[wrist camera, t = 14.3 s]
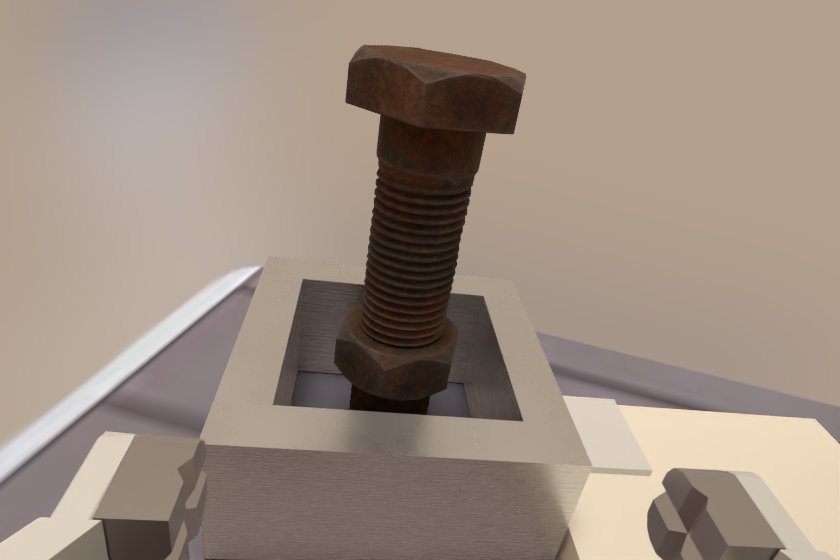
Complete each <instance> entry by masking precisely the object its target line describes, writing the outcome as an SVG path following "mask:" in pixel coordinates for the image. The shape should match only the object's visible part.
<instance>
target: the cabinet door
mask: <svg viewBox="0 0 840 560" xmlns="http://www.w3.org/2000/svg"><path fill="white" fill-rule="evenodd" d="M563 398H564V401H565V403H566V405H567V408H568V410H569V412H570V415H571V417H572V419H573V422H574V424H575V426H576V429H577V431H578V433H579V436H580V438H581V440H582V443H583V445H584V447H585V450H586V452H587V454H588V457H589V459H590V461H591V464H592V469H591V471H590V474H589V476H588V479H587V481H586V483H585V486H584V488H583V491H582V493H581V496H580V498H579V501H578V503H577V506H576V508H575V510H574V513H573V515H572V518H571V520H570V523H569V525H568V528H567V530H566V533H565V535H564V537H563V540H562V542H561V545H560V547H559V550H558V552H557V555H556V557H555V560H662V559H661V558H660V557H659V556H658V555H657V554H656V553H655V551H654V548H653V546H652V544H651V542H650V539H649V534H648V530H647V512H648V510H649V508H650V505H651V503H652V501H653V499H655V498H656V497H658V496H659V495H661V494H662V493H664V492H665V490H664V487H663V485H662V481H663V479H664V477H665V475H666V473H667V472H668V471H670V470H671V469H673V468H687V469H707V470H722V471H744V472H753V473H755V474H756V475H758V476H759V477H761V478H762V479H763V481H764V482H765V483H766V485H767V486H768V487H769V489H770V490H771V491H772V493H773V494H774V495H775V497H776V498H777V499H778V501H779V502H780V503H781V505H782V506H783V507H784V509H785V510H786V511H787V513H788V514H789V515H790V517H791V518H792V519H793V521H794V522H795V523H796V525H797V526H798V527H799V529H800V530H801V531H802V532H803V534H804V535H805V536H806V538H807V539H808V540H809V542H810V543H811V544H812V546H813V547H814V548H815V550H816V551H822V552H826V553H827V554H829V555H830V556H832V557H833V558H834V559H836V560H840V445H839V444H838V442H837V441H836V440H835V439H834V438H833V437H832V436H831V435H830V434H829V433H828V432H827V431H826V430H825V429H824V428H823V427H822V426H821V425H820V424H819V423H818V422H817V421H816V420H815V419H806V418H792V417H778V416H764V415H750V414H736V413H722V412H708V411H694V410H679V409H665V408H651V407H637V406H623V405H617V404H616V402H615V400H614V399H600V398H587V397H573V396H563Z"/></svg>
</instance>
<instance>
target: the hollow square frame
mask: <svg viewBox="0 0 840 560" xmlns="http://www.w3.org/2000/svg"><path fill="white" fill-rule="evenodd" d="M366 268H367V267H366V266H360V265H349V264H339V263H329V262H319V261H309V260H299V259H289V258H279V257H268V259H267V261H266V264H265V266H264V269H263V272H262V274H261V277H260V280H259V282H258V285H257V287H256V290H255V293H254V295H253V298H252V301H251V303H250V306H249V309H248V311H247V314H246V317H245V319H244V322H243V325H242V327H241V330H240V332H239V335H238V338H237V340H236V343H235V346H234V348H233V351H232V354H231V356H230V359H229V362H228V364H227V367H226V370H225V372H224V375H223V377H222V380H221V383H220V385H219V388H218V391H217V393H216V396H215V399H214V401H213V404H212V407H211V409H210V412H209V415H208V417H207V420H206V422H205V425H204V428H203V430H202V433H201V436H200V438H199V439H202V440H204V441H205V448H206V458H205V461H204V463H203V466H202V469H201V470H202V471H203V472H204V473H205V474H206V475H207V496H206V503H205V508H204V513H203V518H202V531H203V548H204V559H229V560H555V557H556V555H557V552H558V550H559V547H560V545H561V542H562V540H563V537H564V535H565V533H566V530H567V528H568V525H569V523H570V520H571V518H572V515H573V513H574V510H575V508H576V506H577V503H578V501H579V498H580V496H581V493H582V491H583V488H584V486H585V483H586V481H587V479H588V476H589V474H590V471H591V469H592V464H591V461H590V459H589V457H588V454H587V452H586V450H585V447H584V445H583V443H582V440H581V438H580V436H579V433H578V431H577V429H576V426H575V424H574V422H573V419H572V417H571V415H570V412H569V410H568V408H567V405H566V403H565V401H564V398H563V396H562V394H561V391H560V389H559V387H558V384H557V382H556V380H555V377H554V375H553V373H552V370H551V368H550V366H549V363H548V361H547V359H546V356H545V354H544V352H543V349H542V347H541V345H540V342H539V340H538V338H537V335H536V333H535V331H534V329H533V326H532V324H531V322H530V319H529V317H528V314H527V312H526V310H525V307H524V305H523V303H522V300H521V298H520V296H519V293H518V291H517V289H516V287H515V284H514V282H513V281H512V280H502V279H492V278H482V277H472V276H461V275H454V277H453V279H454V282H453V284H452V290H451V292H450V299H449V307H448V309H447V317H448V318H449V319H450V321H451V322H452V323H453V324H454V325H455V326H456V327H457V328H458V330H459V332H458V337H457V342H456V346H455V351H454V356H453V360H452V365H451V369H450V374H449V378H448V382H457V383H463V384H464V389H465V394H466V399H467V403H468V408H469V413H470V418H462V417H447V416H431V415H416V414H401V413H386V412H371V411H355V410H340V409H325V408H310V407H295V406H291V403H292V398H293V393H294V388H295V383H296V378H297V373H298V371H308V372H321V373H335V374H342V372H341V371H340V370H339V369H338V367H337V366H336V365H335V364H334V356H335V345H336V338H337V335H338V333H339V330H340V328H341V325H342V323H343V321H344V319H345V317H346V315H347V313H348V312H349V311H350V310H351V309H352V308H353V307H355V306H357V305H359V304H361V303H362V300H363V298H362V295H363V292H364V290H363V288H364V284H365V283H364V280H365V277H366V275H365V272H366Z"/></svg>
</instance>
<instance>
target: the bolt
mask: <svg viewBox="0 0 840 560" xmlns="http://www.w3.org/2000/svg"><path fill="white" fill-rule="evenodd" d="M525 79H526V74H525V73H523V72H520V71H518V70H516V69H514V68H511V67H508V66H504V65H501V64H498V63H495V62H492V61H487V60H482V59H477V58H472V57H466V56H461V55H456V54H450V53H444V52H437V51H431V50H425V49H420V48H412V47H399V46H386V45H384V46H383V45H363V46H361V47H360V48H359V49H358V50H357V51H356V53H355V54H354V56H353V57H352V59H351V61H350V63H349V69H348V80H347V90H346V103H348V104H351V105H354V106H357V107H360V108H363V109H366V110H369V111H372V112H375V113H378V114H381V116H380V126H379V136H378V145H377V157H378V159H379V162H378V164H379V169H378V171H377V176H378V177H379V178H378V179H377V180H376V186H377V188H376V189H375V193H374V194H375V195H376V197H375V198H374V208H373V210H372V213H373V217H372V219H371V221H372V225H371V228H370V232H371V235H370V237H369V241H370V243H369V245H368V251H369V252H368V254H367V258H368V260H367V263H366V267H367V268H366V272H365V275H366V277H365V280H364V283H365V284H364V288H363V290H364V292H363V295H362V298H363V300H362V303H361V304H359V305H357V306H355V307H353V308H352V309H351V310H350V311H349V312H348V313H347V315H346V317H345V319H344V321H343V323H342V325H341V328H340V330H339V333H338V335H337V338H336V345H335V356H334V364H335V365H336V366H337V367H338V369H339V370H340V371H341V372H342V374H343V375H344V376H345V377H346V378H347V379H348V380H349V381H350V382H351V383H352V388H351V400H350V408H349V410H355V411H371V412H386V413H401V414H416V415H426V413H427V411H428V410H427V408H428V405H429V398H430V396H431V395H433V394H435V393H438V392H440V391H442V390H445V389H446V387H447V383H448V378H449V374H450V369H451V365H452V360H453V356H454V351H455V346H456V342H457V337H458V332H459V330H458V328H457V327H456V326H455V325H454V324H453V323H452V322H451V321H450V319H449V318H448V317H447V309H448V307H449V299H450V292H451V290H452V284H453V282H454V279H453V277H454V275H455V268H456V266H457V262H456V260H457V259H458V251H459V243H460V240H461V238H460V237H461V233H462V231H463V225H464V223H465V216H466V215H467V206H468V205H469V201H470V200H469V197H470V195H471V186H472V185H473V181H474V176H475V174H476V173H477V171H478V169H479V165H480V160H481V155H482V150H483V146H484V141H485V136H486V133H498V134H514V130H515V126H516V121H517V117H518V112H519V107H520V103H521V98H522V94H523V89H524V85H525Z"/></svg>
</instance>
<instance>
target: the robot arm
mask: <svg viewBox="0 0 840 560" xmlns="http://www.w3.org/2000/svg"><path fill="white" fill-rule="evenodd" d="M205 458H206V448H205V441H204V440H202V439H195V438H183V437H172V436H160V435H149V434H130V433H118V432H107V431H106V432H105V433H104V434H103V435H102V436H100V437H99V438H98V439H97V440H96V442H95V444H94V445H93V447H92V449H91V450H90V452H89V454H88V455H87V457H86V459H85V460H84V462H83V464H82V465H81V467H80V469H79V470H78V472H77V474H76V475H75V477H74V479H73V480H72V482H71V484H70V485H69V487H68V489H67V490H66V492H65V494H64V495H63V497H62V498H61V500H60V502H59V503H58V505H57V507H56V508H55V510H54V512H53V513H52V515H51V517H50V518H45V517H39V518H37V519H36V520H34V521H33V522H31V523H30V524H28V525H27V526H25V527H24V528H22V529H21V530H19V531H18V532H16V533H15V534H13V535H12V536H10V537H9V538H7V539H6V540H4V541H3V542H1V543H0V560H189V547H188V543H189V542H190V541H191V540H192V539H193V538H194V537H196V536H197V535H198V531H199V528H200V525H201V522H202V518H203V513H204V508H205V503H206V496H207V475H206V474H205V473H204V472H203V471H202V470H201V469H202V466H203V463H204V461H205ZM662 485H663V487H664V490H665V492H664V493H662V494H661V495H659V496H658V497H656V498H655V499H653V501H652V503H651V505H650V508H649V510H648V512H647V530H648V534H649V539H650V542H651V544H652V546H653V548H654V551H655V553H656V554H657V555H658V556H659V557H660V558H661V559H662V560H836V559H834V558H833V557H832V556H830V555H829V554H827V553H826V552H822V551H816V550H815V548H814V547H813V546H812V544H811V543H810V542H809V540H808V539H807V538H806V536H805V535H804V534H803V532H802V531H801V530H800V529H799V527H798V526H797V525H796V523H795V522H794V521H793V519H792V518H791V517H790V515H789V514H788V513H787V511H786V510H785V509H784V507H783V506H782V505H781V503H780V502H779V501H778V499H777V498H776V497H775V495H774V494H773V493H772V491H771V490H770V489H769V487H768V486H767V485H766V483H765V482H764V481H763V479H762V478H761V477H759V476H758V475H756V474H755V473H753V472H744V471H722V470H707V469H687V468H673V469H671V470H670V471H668V472H667V473H666V475H665V477H664V479H663V481H662Z"/></svg>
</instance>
